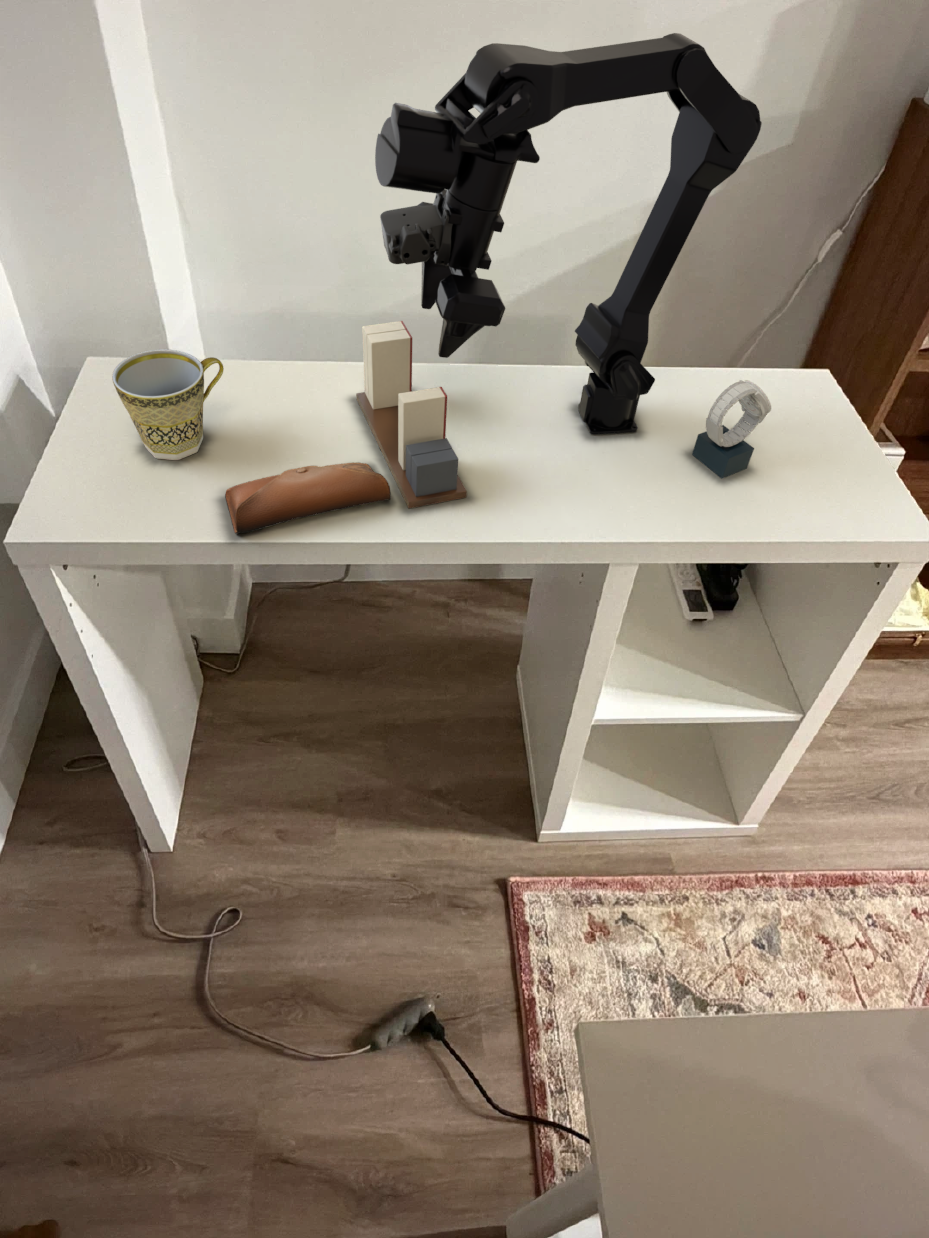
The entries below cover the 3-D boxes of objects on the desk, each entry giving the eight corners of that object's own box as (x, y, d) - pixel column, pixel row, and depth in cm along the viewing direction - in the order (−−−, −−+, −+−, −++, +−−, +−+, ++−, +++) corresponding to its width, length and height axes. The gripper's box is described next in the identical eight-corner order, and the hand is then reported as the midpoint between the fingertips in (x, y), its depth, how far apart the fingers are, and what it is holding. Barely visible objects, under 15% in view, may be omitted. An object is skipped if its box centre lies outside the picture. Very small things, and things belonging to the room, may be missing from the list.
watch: (757, 464, 109) (786, 389, 101) (711, 483, 106) (737, 407, 98) (726, 440, 112) (752, 365, 104) (681, 458, 109) (704, 382, 101)
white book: (438, 453, 105) (441, 386, 98) (444, 463, 104) (447, 396, 97) (398, 460, 104) (398, 393, 97) (403, 471, 103) (403, 403, 96)
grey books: (445, 468, 104) (446, 437, 100) (456, 489, 101) (458, 458, 98) (405, 475, 102) (405, 444, 99) (416, 497, 100) (416, 466, 96)
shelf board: (408, 391, 116) (408, 385, 115) (466, 497, 102) (467, 491, 101) (356, 399, 114) (356, 393, 113) (408, 508, 100) (408, 502, 99)
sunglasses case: (368, 458, 105) (376, 436, 98) (385, 512, 104) (394, 492, 97) (219, 490, 99) (218, 468, 93) (236, 547, 98) (236, 529, 92)
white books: (402, 386, 115) (402, 320, 108) (411, 403, 112) (412, 337, 105) (364, 392, 113) (362, 326, 106) (373, 410, 111) (371, 343, 104)
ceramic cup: (157, 480, 101) (138, 408, 93) (117, 439, 105) (96, 366, 98) (253, 440, 107) (242, 369, 99) (211, 402, 111) (198, 332, 104)
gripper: (380, 136, 88) (351, 275, 99) (417, 232, 77) (379, 376, 88) (481, 157, 92) (441, 289, 103) (529, 251, 81) (479, 386, 93)
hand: (434, 331), depth 97 cm, fingers open, 9 cm apart
